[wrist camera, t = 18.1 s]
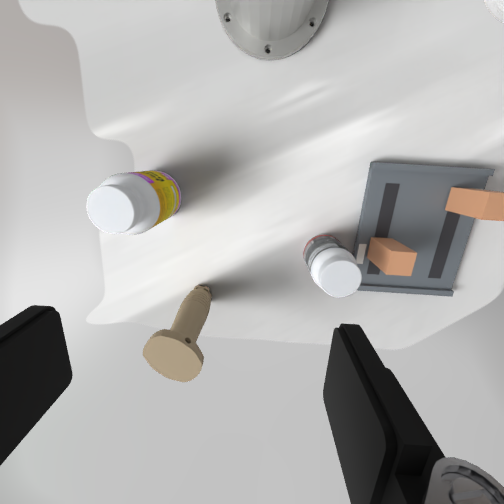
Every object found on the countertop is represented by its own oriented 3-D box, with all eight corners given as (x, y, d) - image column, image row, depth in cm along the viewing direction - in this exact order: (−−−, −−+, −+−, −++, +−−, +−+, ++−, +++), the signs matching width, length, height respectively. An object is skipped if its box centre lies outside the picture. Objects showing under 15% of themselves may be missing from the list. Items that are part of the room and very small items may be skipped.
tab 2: (451, 187, 35) (490, 192, 29) (474, 188, 35) (518, 194, 29) (444, 210, 36) (481, 219, 30) (467, 211, 36) (508, 221, 30)
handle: (194, 270, 41) (160, 327, 27) (227, 295, 42) (210, 362, 28) (176, 291, 42) (134, 356, 28) (208, 314, 44) (183, 389, 29)
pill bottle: (346, 261, 40) (372, 292, 30) (310, 275, 41) (324, 309, 31) (334, 227, 38) (358, 248, 29) (297, 242, 39) (308, 267, 30)
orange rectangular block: (371, 237, 37) (391, 251, 31) (392, 238, 37) (417, 252, 31) (366, 257, 38) (386, 274, 32) (387, 258, 38) (411, 276, 32)
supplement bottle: (182, 172, 36) (144, 178, 24) (182, 220, 39) (147, 247, 26) (134, 168, 36) (71, 171, 24) (136, 215, 39) (79, 241, 26)
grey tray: (370, 162, 35) (375, 162, 34) (484, 168, 35) (494, 169, 34) (347, 285, 41) (350, 289, 40) (445, 291, 41) (452, 296, 39)
